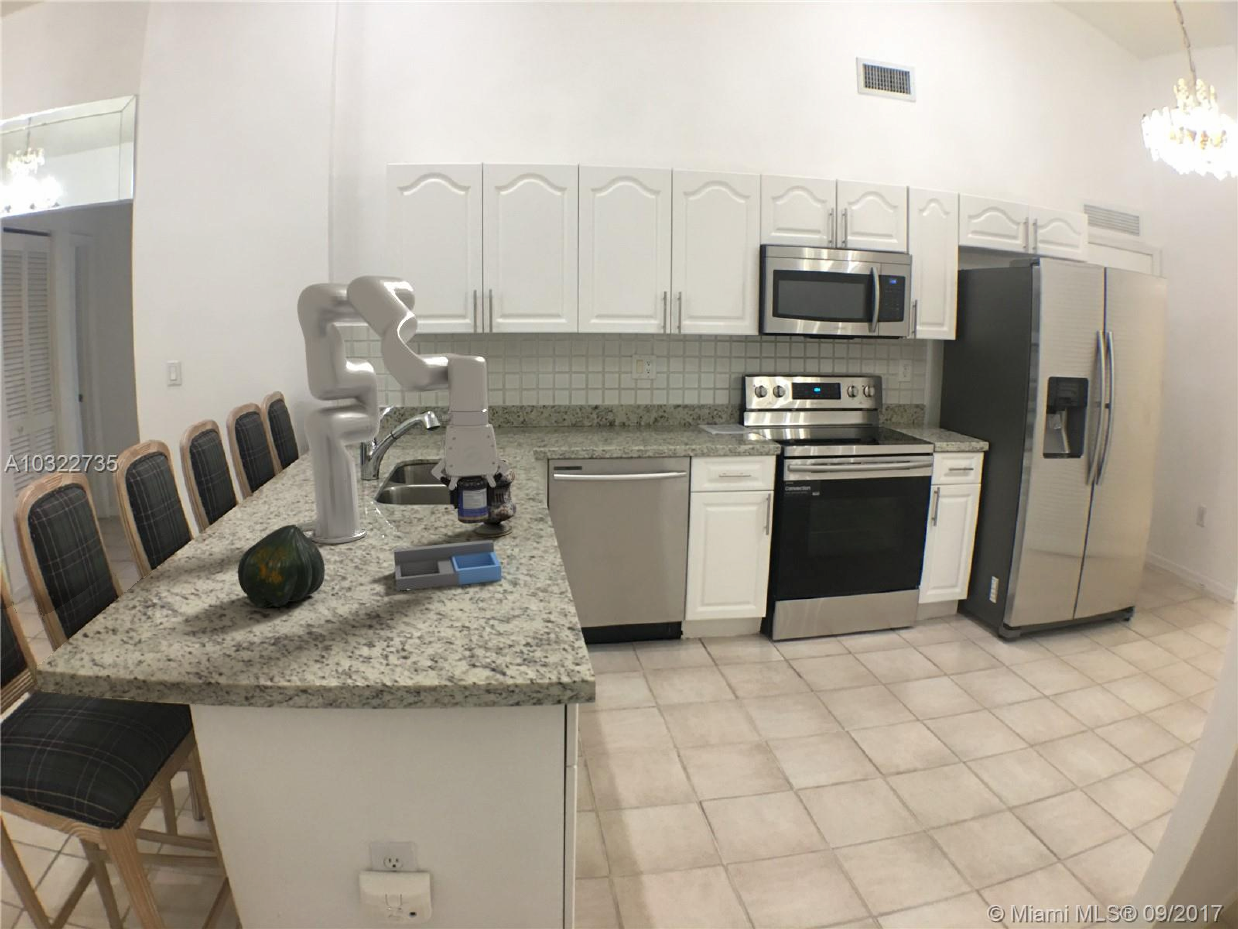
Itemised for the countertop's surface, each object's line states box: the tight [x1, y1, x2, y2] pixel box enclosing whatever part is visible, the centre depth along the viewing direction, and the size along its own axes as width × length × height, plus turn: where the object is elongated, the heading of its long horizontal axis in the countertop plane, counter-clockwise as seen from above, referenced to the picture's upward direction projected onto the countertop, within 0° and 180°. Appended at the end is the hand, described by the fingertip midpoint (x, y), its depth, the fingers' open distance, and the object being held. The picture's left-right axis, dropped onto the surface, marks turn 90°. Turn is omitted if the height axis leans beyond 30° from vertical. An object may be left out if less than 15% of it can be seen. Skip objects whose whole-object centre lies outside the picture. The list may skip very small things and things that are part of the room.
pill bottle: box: [456, 476, 488, 525], centre depth 144 cm, size 6×6×11 cm
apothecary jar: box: [472, 458, 517, 538], centre depth 175 cm, size 12×12×18 cm
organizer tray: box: [393, 539, 503, 592], centre depth 146 cm, size 20×12×5 cm, turn 108°
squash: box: [237, 523, 326, 609], centre depth 133 cm, size 14×15×15 cm
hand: (472, 505), depth 144 cm, fingers closed on pill bottle, 6 cm apart
